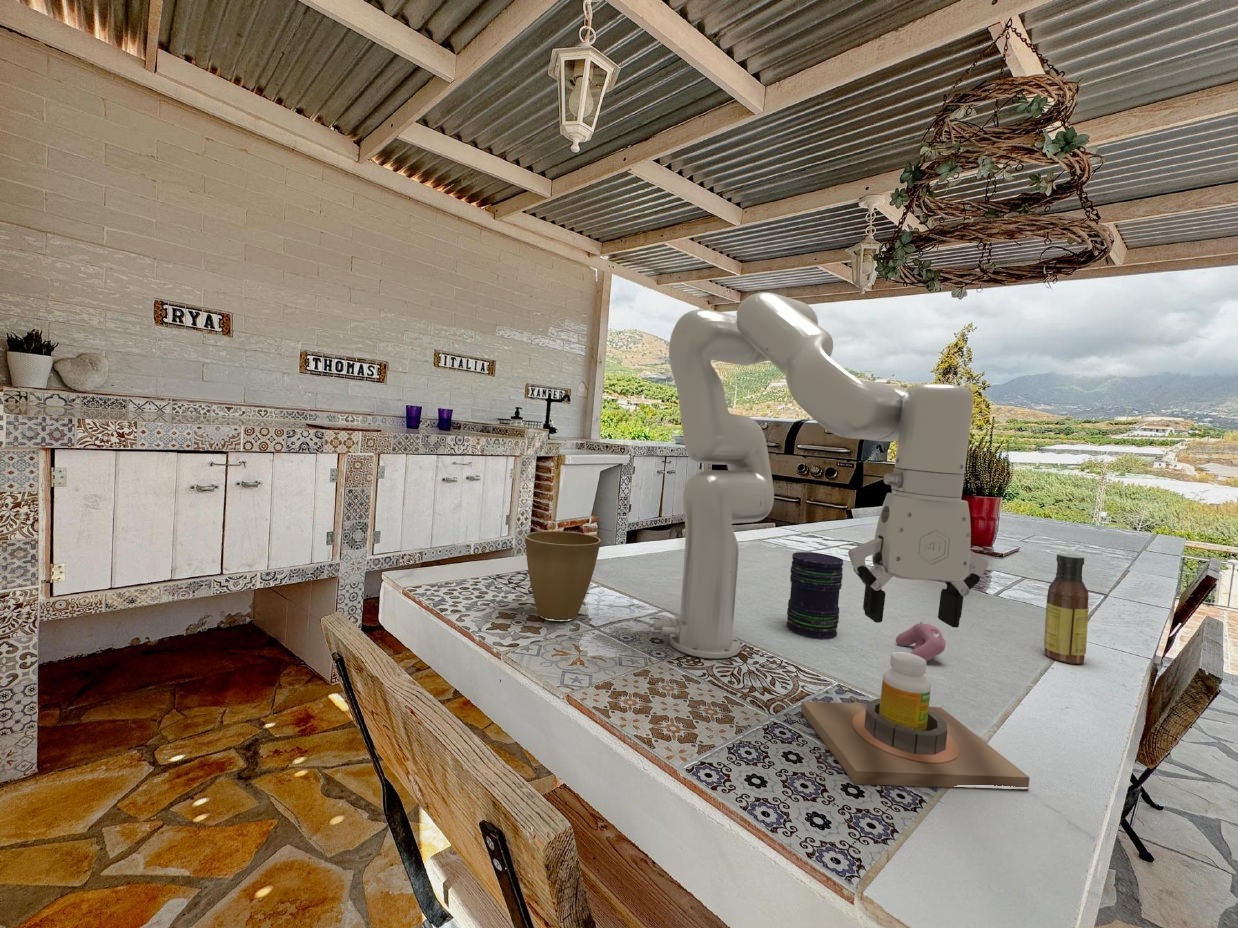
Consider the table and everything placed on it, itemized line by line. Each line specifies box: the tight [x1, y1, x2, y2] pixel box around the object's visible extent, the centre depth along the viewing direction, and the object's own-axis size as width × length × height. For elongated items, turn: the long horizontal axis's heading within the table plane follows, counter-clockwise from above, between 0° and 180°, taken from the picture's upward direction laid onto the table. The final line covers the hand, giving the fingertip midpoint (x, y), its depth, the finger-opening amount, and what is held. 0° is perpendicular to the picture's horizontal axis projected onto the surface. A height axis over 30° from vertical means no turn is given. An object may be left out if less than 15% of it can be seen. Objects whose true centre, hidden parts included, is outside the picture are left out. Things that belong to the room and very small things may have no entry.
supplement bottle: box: [879, 651, 932, 731], centre depth 70 cm, size 5×5×10 cm
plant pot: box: [524, 530, 602, 620], centre depth 110 cm, size 15×15×16 cm
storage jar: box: [786, 551, 844, 640], centre depth 112 cm, size 10×10×15 cm
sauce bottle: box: [1043, 552, 1090, 665], centre depth 105 cm, size 7×6×20 cm
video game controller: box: [895, 621, 947, 662], centre depth 102 cm, size 10×5×7 cm, turn 169°
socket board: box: [800, 698, 1030, 788], centre depth 70 cm, size 20×16×4 cm
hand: (910, 621), depth 70 cm, fingers open, 9 cm apart
